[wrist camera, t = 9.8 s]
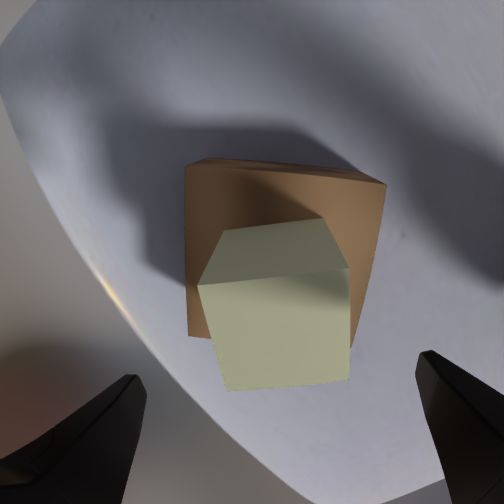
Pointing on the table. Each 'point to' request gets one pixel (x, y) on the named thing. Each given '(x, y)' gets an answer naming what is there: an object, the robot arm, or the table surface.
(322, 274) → the sage block
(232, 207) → the walnut block
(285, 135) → the table surface
